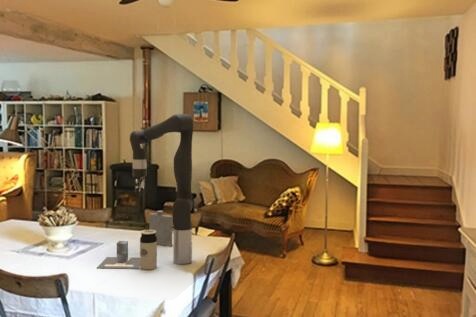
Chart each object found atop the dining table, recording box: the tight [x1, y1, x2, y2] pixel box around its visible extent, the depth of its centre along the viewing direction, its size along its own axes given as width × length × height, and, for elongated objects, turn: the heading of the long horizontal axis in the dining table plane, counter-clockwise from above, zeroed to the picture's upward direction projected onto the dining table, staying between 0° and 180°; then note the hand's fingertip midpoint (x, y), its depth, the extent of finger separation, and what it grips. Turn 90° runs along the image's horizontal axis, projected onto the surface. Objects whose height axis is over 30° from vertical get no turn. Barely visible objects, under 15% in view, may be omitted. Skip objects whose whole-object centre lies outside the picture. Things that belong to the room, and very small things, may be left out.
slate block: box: [116, 240, 129, 263], centre depth 217 cm, size 4×4×10 cm
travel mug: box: [139, 229, 158, 271], centre depth 209 cm, size 8×8×18 cm
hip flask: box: [148, 210, 173, 247], centre depth 250 cm, size 16×4×20 cm, turn 61°
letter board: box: [96, 256, 140, 270], centre depth 216 cm, size 20×17×1 cm
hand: (139, 196), depth 236 cm, fingers open, 8 cm apart
